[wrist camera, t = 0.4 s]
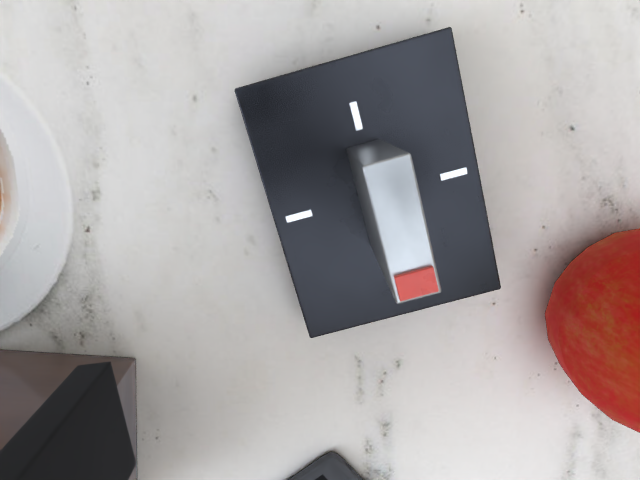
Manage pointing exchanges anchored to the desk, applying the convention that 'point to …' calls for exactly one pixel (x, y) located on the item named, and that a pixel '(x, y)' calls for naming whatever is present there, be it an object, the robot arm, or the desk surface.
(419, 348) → the desk surface
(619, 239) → the apple
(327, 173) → the panel
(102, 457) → the robot arm
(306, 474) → the cell phone
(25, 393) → the block
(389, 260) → the stove knob
